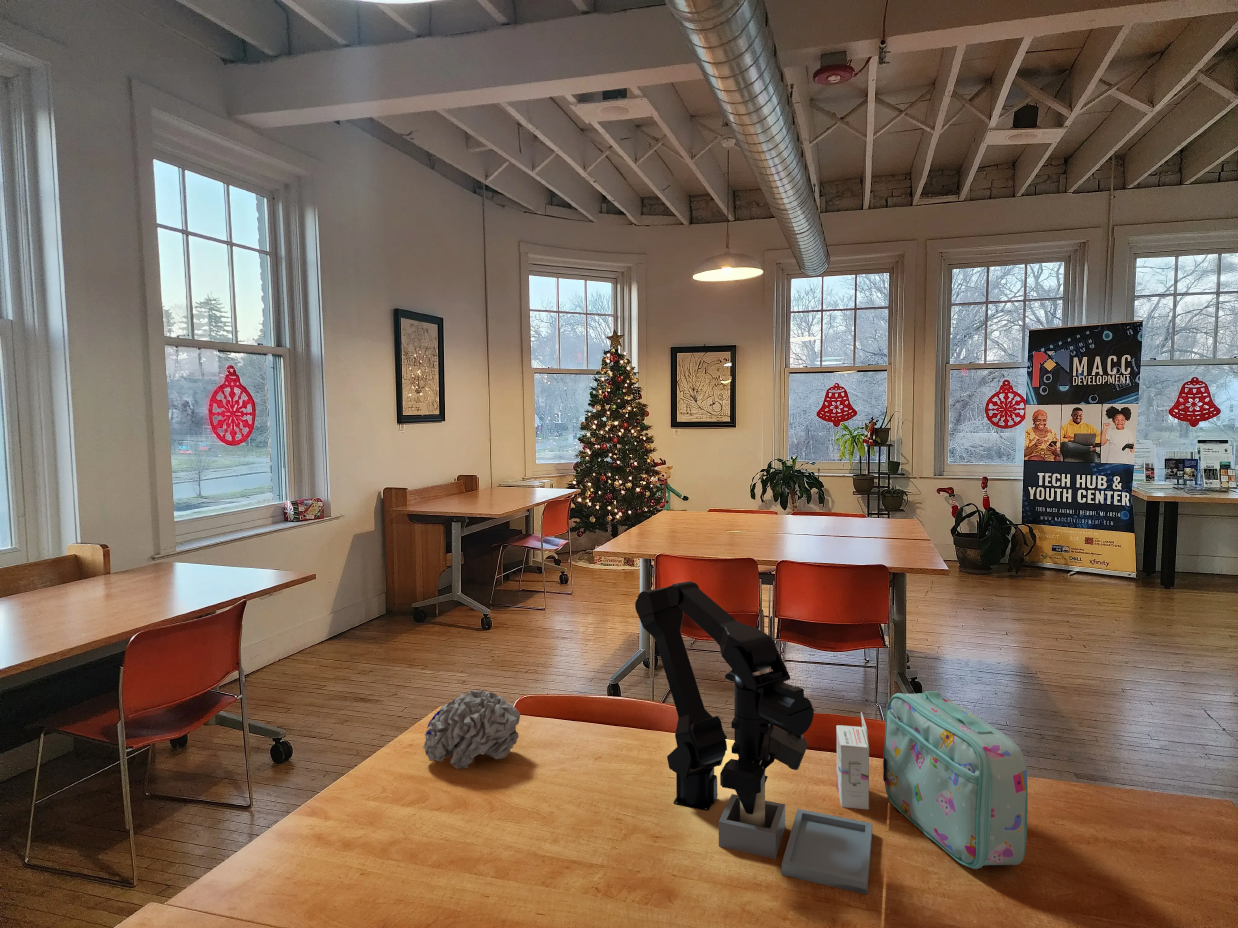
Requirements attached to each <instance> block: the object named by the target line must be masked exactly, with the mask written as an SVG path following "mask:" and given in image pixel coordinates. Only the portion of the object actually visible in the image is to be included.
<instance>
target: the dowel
mask: <svg viewBox="0 0 1238 928" xmlns="http://www.w3.org/2000/svg"><path fill="white" fill-rule="evenodd" d="M765 800H766V783H765V784H764V786H763V789H762V791H761V793H758V794H757V796H756V802H755V807H754V812H753V814H747V813H746V812H745V810H744V807H743V805H742V803H741V801H740V823H745V824H749V825H754V826H759V827H764V828H765Z"/></svg>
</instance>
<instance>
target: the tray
mask: <svg viewBox="0 0 1238 928" xmlns="http://www.w3.org/2000/svg"><path fill="white" fill-rule="evenodd" d="M795 813H796V814H795V815H794V816H795V817H794V820H793V822H792V826H791V830H790V834H789V838H788V840H787V844H786V848H785V851H784V854H783V858H782V862H781V876H784V877H785V876H786V877H789V878H793V879H798V880H802V881H807V882H811V883H815V884H819V885H823V886H828V887H831V888H836V889H840V890H845V891H850V892H853V893H858V894H861V895H866V896H868V889H869V888H868V886H869V876H870V867H871V866H870V863H871V853H872V843H873V842H872V841H873V823H872V822H867V821H862V820H858V819H857V820H856V819H852V818H847V817H842V816H838V815H831V814H827V813H821V812H816V811H810V810H806V809H800V808H797V809H796V812H795Z"/></svg>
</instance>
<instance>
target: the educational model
mask: <svg viewBox="0 0 1238 928" xmlns="http://www.w3.org/2000/svg"><path fill="white" fill-rule="evenodd" d="M520 719H521V713H520V711H518V709H517V708H516V707H515V706H513V705H511V703H508V702H507V701H506V700H505V699H504V696H502V695H497V694H496V693H494V692H492V691H484V690H481V689H479V690H476V689H473V690H469V691H467V694H465V693H461V695H460V696H458V697H456V698H455V699H453V700H452V701H448V703H446V704H444V705H443V706H441V708H440V709H439V711H437V712H436V713H434V715H433V716H432V717H431V719H430V721H429V722H428V724H427V727H426V728H427V730H426V731H425V734H424V736H425V741H424V742H423V747H422V748H423V749H424V752H425V756H426V757H428V760H429V761H431V762H433V761H438V762H443V760H444V759H445V758H448V759H449V758H450V757H451V756H452V758H451V759H450V762H449V764H451V765H452V767H454V768H456V769H457V770H458V769H468V768H469V765H470V764H471V763H473V761H474V758H475V757H476V756H477V757H478V756H479V755H482V756H483V755H486V756H489V757H491V758H493V759H495V760H502V759H505V758H506V757H507V756H508V755H509V753H510V751H511V749H513V748H514V747H513V746H514V745H516V744H517V741H518V739H519V737H520V736H519V731H518V732H517V725H519V724H520Z"/></svg>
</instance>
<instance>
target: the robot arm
mask: <svg viewBox="0 0 1238 928" xmlns="http://www.w3.org/2000/svg"><path fill="white" fill-rule="evenodd" d="M634 603H635V604H634V607H635V611H636V614H637V616H638V618H639V621H640V623H641V626H642V628H643V629H644V630H645V631H646V632H647V633H648V634H649V635H651V637H652V638H653V639H654V641H655V643H656V646H657V647H656V648H657V650H658V653H659V657H660V660H661V663H662V666H663V670H664V674H665V677H666V680H667V683H668V686H669V689H670V693H671V696H672V699H673V703H674V705H675V710H676V713H677V717H678V718H677V723H676V727H675V734H674V736H675V742H676V747H675V748H674V749H673V750H672V751H671V752H670V753H669V754H668V755H667V756H666V758H667V759H666V760H667V763H668V768H669V770H671V771H673V772H674V773H675V775H676V778H675V779H676V780H675V781H676V791H675V792H676V795H675V796H676V797H675V798H674V800H673V805H676V806H681V807H686V808H691V809H695V810H701V811H709V810H710V809H711V806H712V805H714V804H715V803H716V801H717V799H718V776H717V775H716V774H715V768H717V767H720V766H722V764H723V760H724V757H725V756H726V751H728V745H727V741H726V740H728V737H727V735H726V732H725V731H724V729H723V725H722V721H721V718H720V717H719V716H718V715H715V716H713V715H712V714H710V712H708V710H706V708H705V705H704V702H703V699H702V696H701V692H700V689H699V686H698V683H697V679H696V677H695V674H694V670H693V668H692V664H691V661H690V658H689V654H688V652H687V649H686V645H685V642H684V639H683V635H682V632H681V629H682V625H683V620H684V617H685V615H686V616H688V618H690V620H692V621H693V622H694V623H695V624H696V625H698V627H699V628H700V629H702V630H703V631H704V632H705V633H706V634H707V635H708V636H709V637H710V638H712V640H713V641H714V642H716V643H717V644H718V646H719V649H720V654H721V658H723V660H724V661H725V662H726V664H727V665H728V666H729V667H730V669H731V670H730V671H728V672H727V673H725V675H724V679H726V680H728V681H730V682H733V683H734V684H733V685H734V686H733V687H734V688H733V689H734V695H733V696H734V698H733V699H734V703H733V705H734V707H733V709H734V710H733V711H734V713H733V714H734V717H733V718H732V721H731V729H733V730H734V742H733V744H732V745H731V754H733V755H734V754H735V755H737V756H738V759H733V758H730V759H729V760H727V762H725V764H724V766H723V767H722V768H721V771H720V773H719V774H720V775H719V777H720V779H719V781H720V782H719V783H720V784H719V785H720V786H721V787H722V788H725V789H728V790H729V789H730V790H734V792H736V795H738V797H739V799H740V801H741V803H742V805H743V807H744V810H745V812H746V813H747V814H753V812H754V807H755V802H756V796H757V794H758V793H761V791H762V789H763V786H764V784H765V785H766V782H767V781H768V775H766V769H767V768H768V767H770V766H771V765H772V764H773V763H774V762H775V760H776V761H778V762H780V763H782V764H784V765H786V766H787V767H788V768H789V769H791V770H793V771H798V770H799V769H800V766H801V763H802V760H803V759H804V756H805V753H806V752H807V749H808V745H809V744H808V741H807V738H806V737H804V734H805V733H806V732H807V731H809V728H810V727H811V726H812V724H813V720H814V716H815V715H814V714H815V708H814V707H813V704H812V702H811V700H810V699H809V698H808V697H806V696H805V690H804V688H802V687H800V686H796V685H795V686H794V685H791V684H789V683H786V682H787V681H790V680H791V675H790V674H789V671H788V669H787V665H786V664H785V663H784V661H783V659H782V656H781V654H780V653H779V650H778V648H777V645H776V643H775V640H774V639H773V638H772V637H771V636H770V635H769V634H768V633H766V632H764V631H762V630H760V629H759V628H757V627H756V626H752V625H749V624H746V623H745V624H744V623H742V622H740V621H738V620H736V619H735V618H734V617H733V616H732V615H731V614H729V613H728V612H727V611H725V609H724V608H723V607H721V606H720V605H719V604H717V603H716V602H715V601H714V600H713V599H712V598H710V597H709V596H708V595H707V594H706V593H704V592H703V591H702V590H701V589H700V587H699V585H698V583H696V582H694V581H690V580H688V581H683V582H677V583H676V582H675V583H672V584H671V585H669V586H665V587H661V588H655V589H649V590H643V591H640V593H639V594H638V596H637V598H636V600H635V602H634ZM684 614H685V615H684ZM768 669H771V670H772V671H768V672H765V673H762V674H756V673H758V672H761V671H765V670H768Z"/></svg>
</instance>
